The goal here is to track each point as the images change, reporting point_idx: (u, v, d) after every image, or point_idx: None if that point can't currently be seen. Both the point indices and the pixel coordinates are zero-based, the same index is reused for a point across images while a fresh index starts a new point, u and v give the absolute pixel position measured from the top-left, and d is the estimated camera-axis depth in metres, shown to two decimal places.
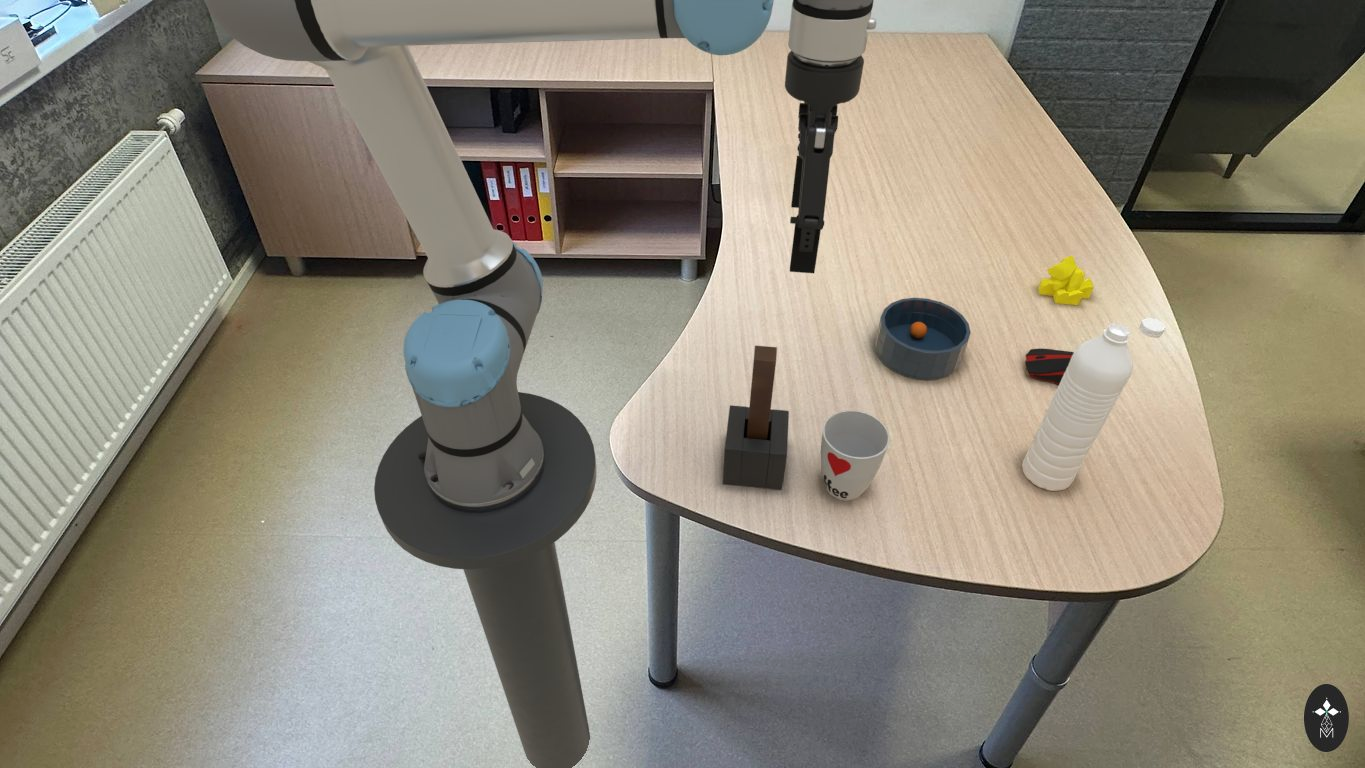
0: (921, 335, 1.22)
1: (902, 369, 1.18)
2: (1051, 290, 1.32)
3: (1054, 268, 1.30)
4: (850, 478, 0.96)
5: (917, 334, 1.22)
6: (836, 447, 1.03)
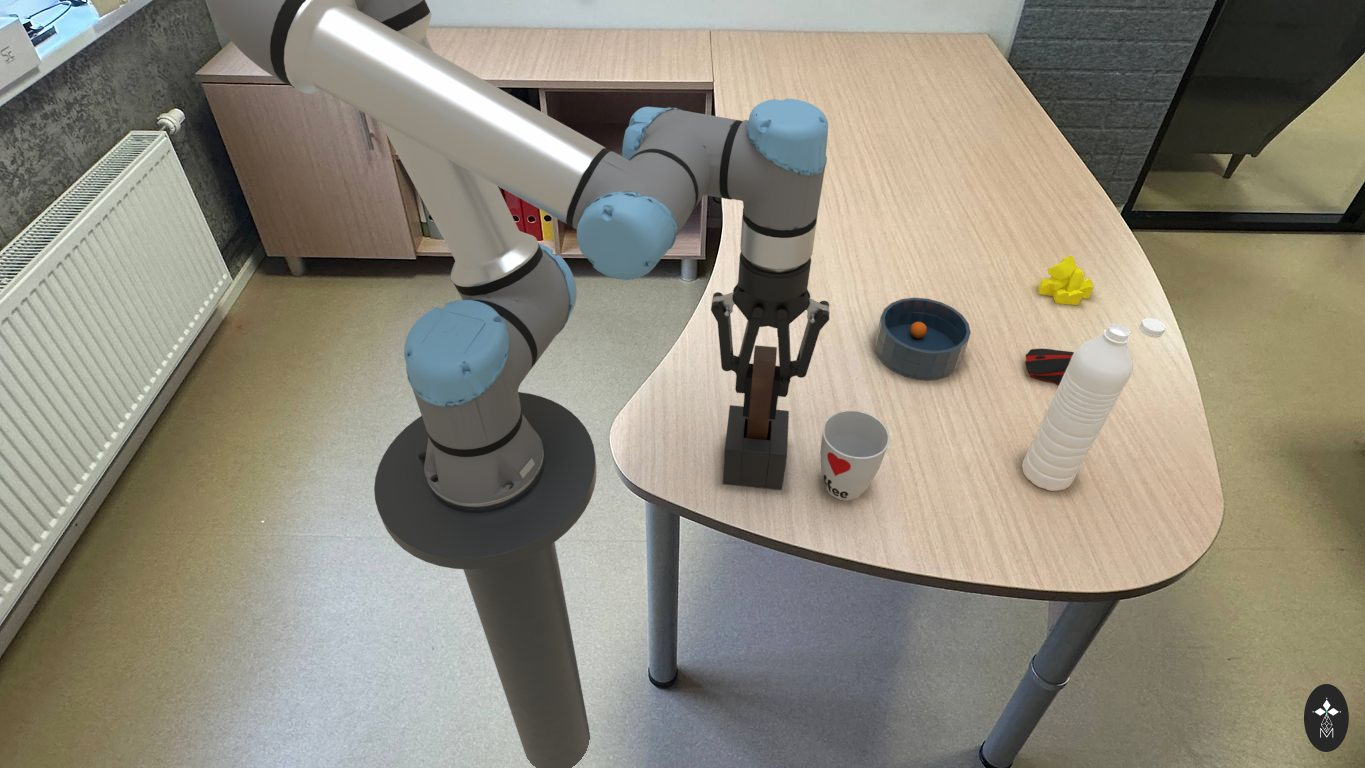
0: (921, 335, 1.22)
1: (902, 369, 1.18)
2: (1051, 290, 1.32)
3: (1054, 268, 1.30)
4: (850, 478, 0.96)
5: (917, 334, 1.22)
6: (836, 447, 1.03)
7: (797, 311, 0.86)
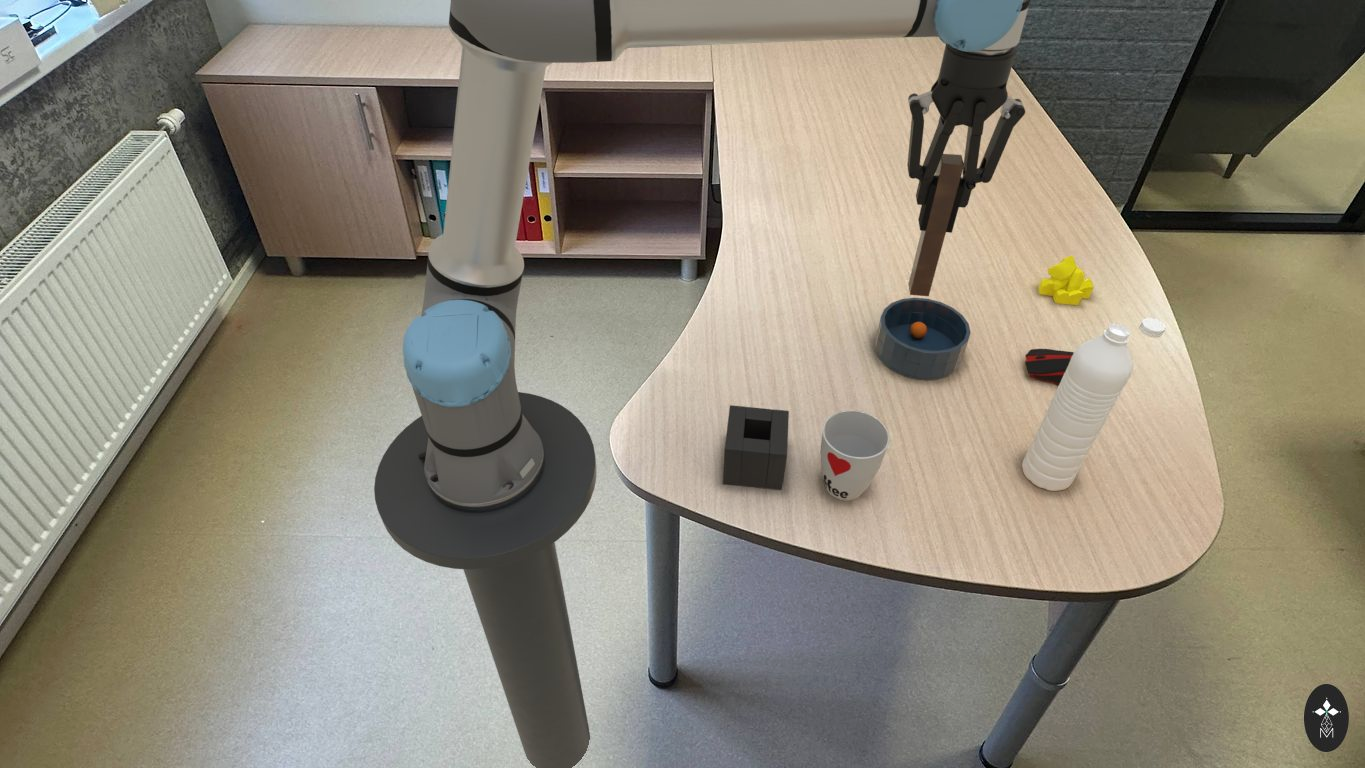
0: (921, 335, 1.22)
1: (902, 369, 1.18)
2: (1051, 290, 1.32)
3: (1054, 268, 1.30)
4: (850, 478, 0.96)
5: (917, 334, 1.22)
6: (836, 447, 1.03)
7: (994, 106, 0.90)
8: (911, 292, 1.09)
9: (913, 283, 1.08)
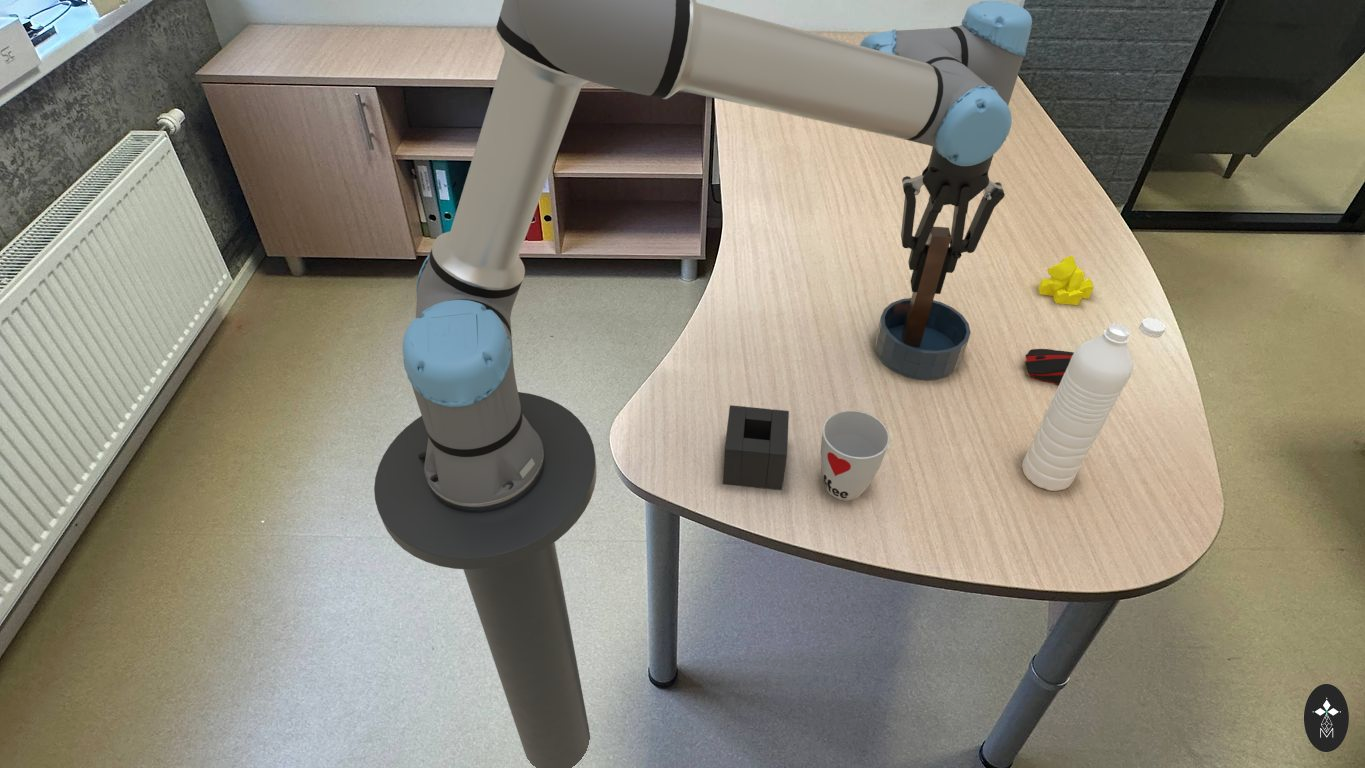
0: None
1: (902, 369, 1.18)
2: (1051, 290, 1.32)
3: (1054, 268, 1.30)
4: (850, 478, 0.96)
5: None
6: (836, 447, 1.03)
7: (978, 189, 1.02)
8: None
9: (906, 336, 1.20)
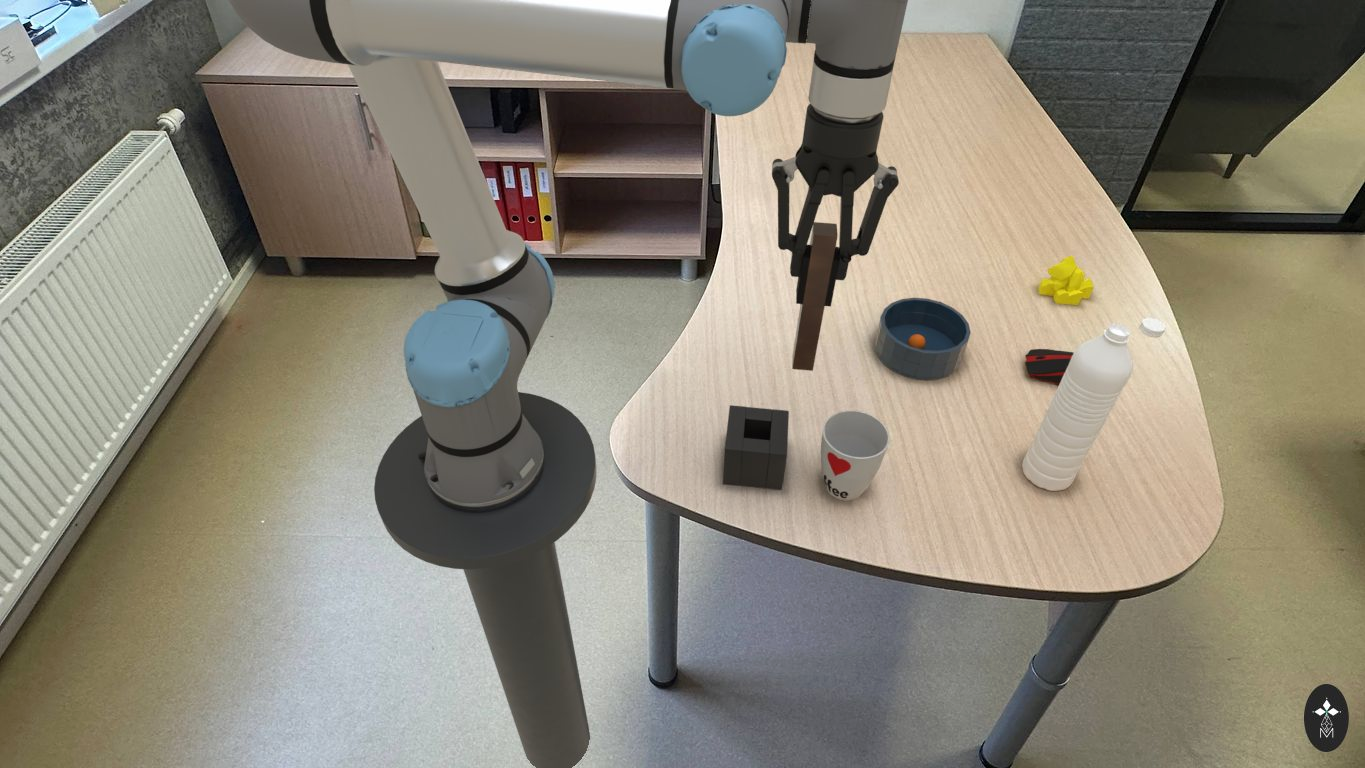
0: None
1: (902, 369, 1.18)
2: (1051, 290, 1.32)
3: (1054, 268, 1.30)
4: (850, 478, 0.96)
5: None
6: (836, 447, 1.03)
7: (865, 175, 0.80)
8: (793, 366, 0.99)
9: (795, 357, 0.98)
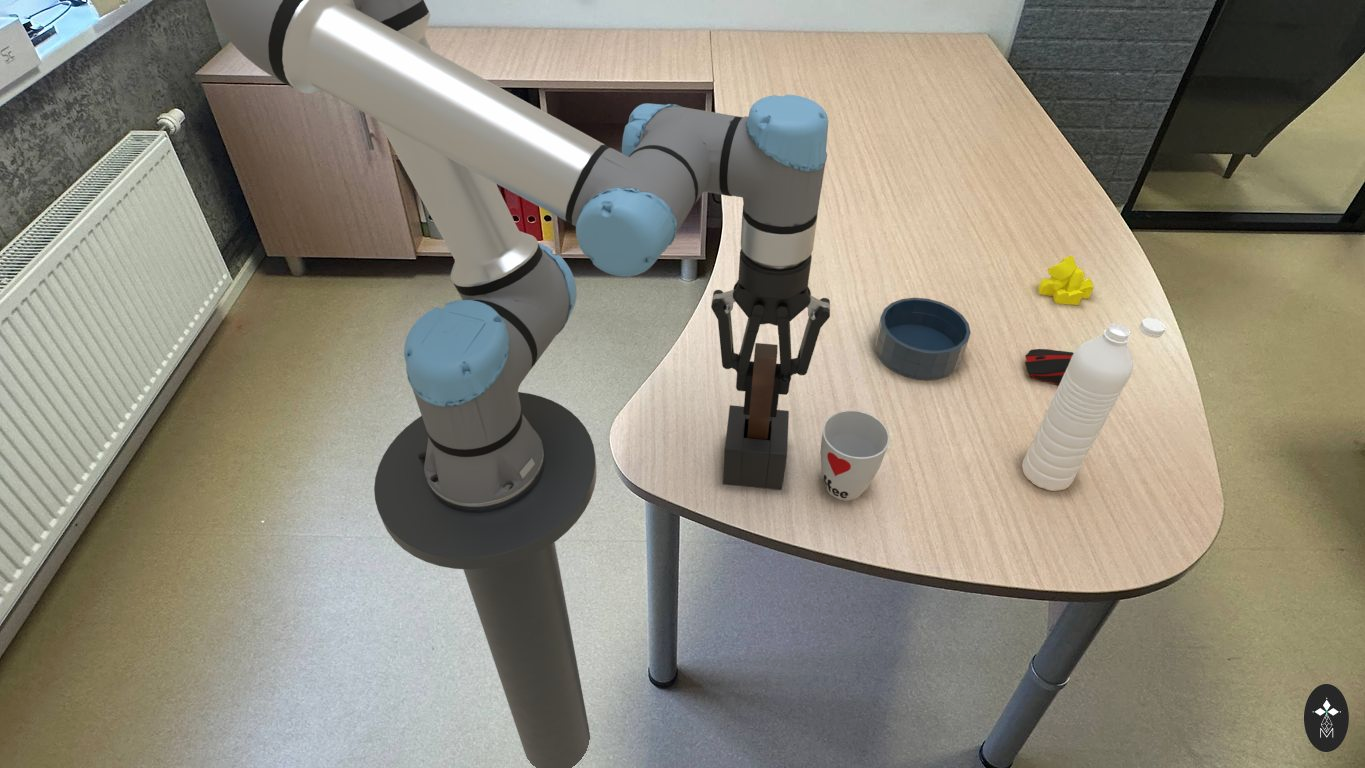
0: None
1: (902, 369, 1.18)
2: (1051, 290, 1.32)
3: (1054, 268, 1.30)
4: (850, 478, 0.96)
5: None
6: (836, 447, 1.03)
7: (798, 308, 0.85)
8: None
9: None
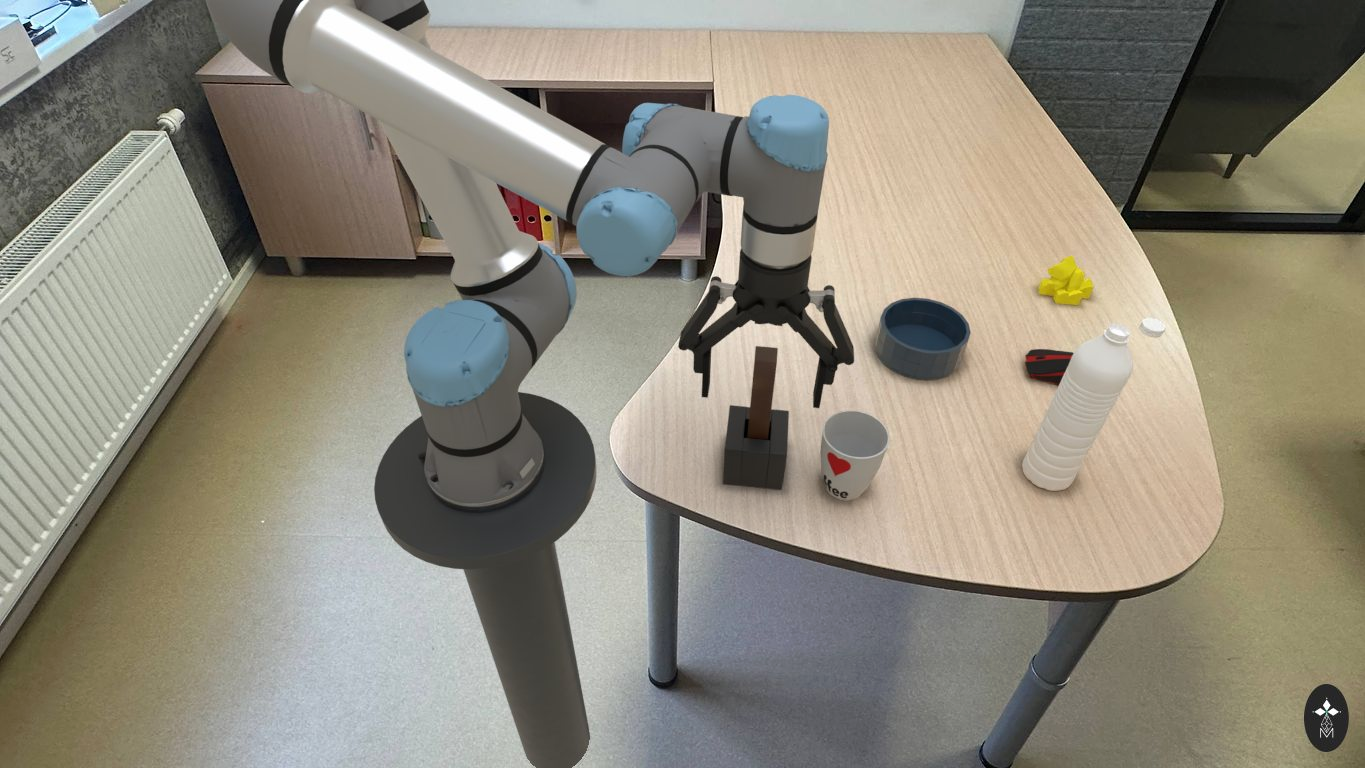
0: None
1: (902, 369, 1.18)
2: (1051, 290, 1.32)
3: (1054, 268, 1.30)
4: (850, 478, 0.96)
5: None
6: (836, 447, 1.03)
7: (797, 308, 0.85)
8: None
9: None
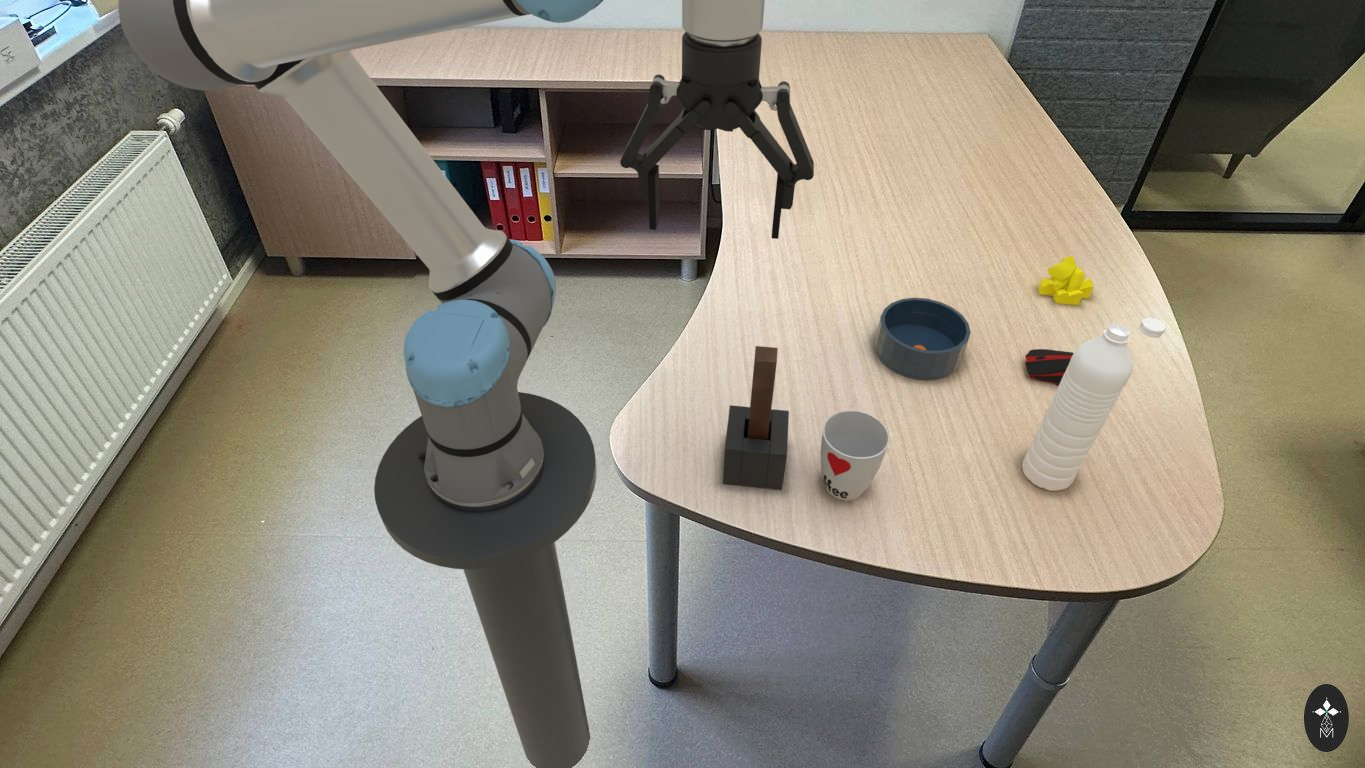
0: (920, 345, 1.19)
1: (902, 369, 1.18)
2: (1051, 290, 1.32)
3: (1054, 268, 1.30)
4: (850, 478, 0.96)
5: (916, 346, 1.19)
6: (836, 447, 1.03)
7: (748, 107, 0.77)
8: None
9: None
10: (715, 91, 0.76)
